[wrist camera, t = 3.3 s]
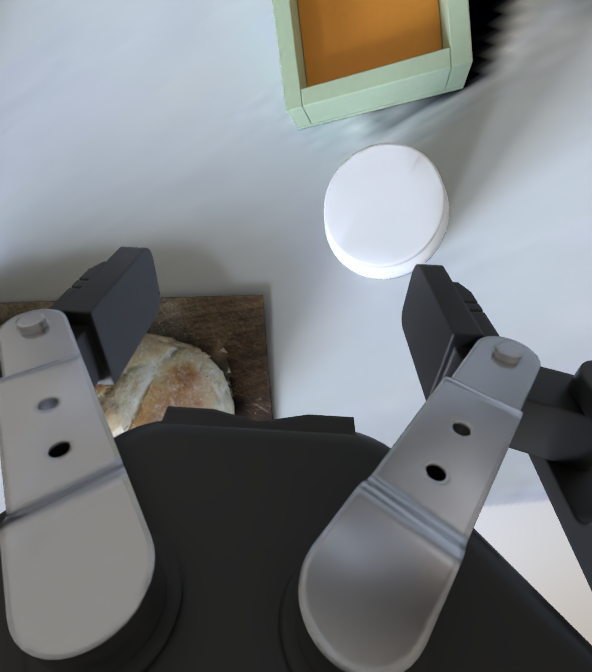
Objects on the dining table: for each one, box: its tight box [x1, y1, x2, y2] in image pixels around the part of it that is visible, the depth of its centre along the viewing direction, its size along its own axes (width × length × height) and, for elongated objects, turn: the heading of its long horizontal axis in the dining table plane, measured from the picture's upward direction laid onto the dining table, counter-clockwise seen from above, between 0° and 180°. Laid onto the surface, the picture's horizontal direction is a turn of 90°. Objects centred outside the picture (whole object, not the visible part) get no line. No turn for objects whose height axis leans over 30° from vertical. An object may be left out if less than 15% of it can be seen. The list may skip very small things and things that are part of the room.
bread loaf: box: [0, 295, 273, 437], centre depth 28 cm, size 35×18×9 cm, turn 99°
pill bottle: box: [324, 143, 449, 279], centre depth 19 cm, size 6×6×10 cm
